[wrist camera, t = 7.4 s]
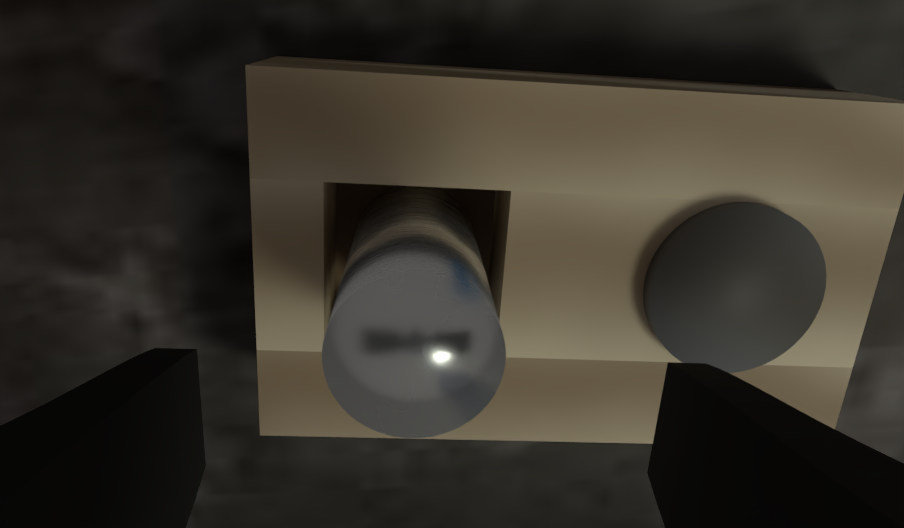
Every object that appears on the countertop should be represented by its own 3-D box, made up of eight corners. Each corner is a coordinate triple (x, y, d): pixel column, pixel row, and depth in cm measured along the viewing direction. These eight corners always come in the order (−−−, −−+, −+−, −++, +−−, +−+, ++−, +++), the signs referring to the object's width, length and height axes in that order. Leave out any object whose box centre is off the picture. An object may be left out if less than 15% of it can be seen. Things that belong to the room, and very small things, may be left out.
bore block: (765, 381, 22) (840, 458, 18) (284, 368, 20) (256, 446, 17) (837, 89, 19) (945, 108, 15) (276, 56, 17) (239, 66, 14)
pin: (468, 298, 19) (496, 442, 13) (353, 292, 19) (319, 434, 12) (479, 187, 18) (515, 278, 11) (358, 178, 18) (324, 267, 11)
